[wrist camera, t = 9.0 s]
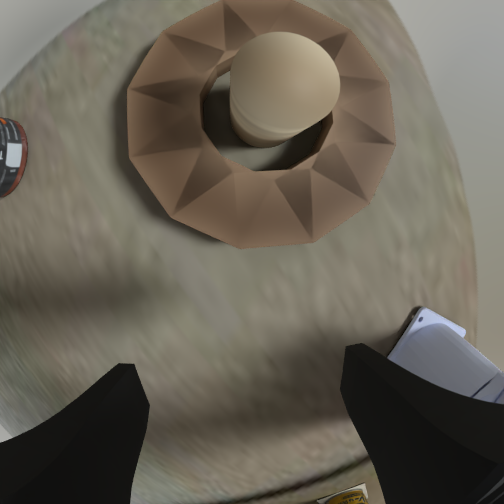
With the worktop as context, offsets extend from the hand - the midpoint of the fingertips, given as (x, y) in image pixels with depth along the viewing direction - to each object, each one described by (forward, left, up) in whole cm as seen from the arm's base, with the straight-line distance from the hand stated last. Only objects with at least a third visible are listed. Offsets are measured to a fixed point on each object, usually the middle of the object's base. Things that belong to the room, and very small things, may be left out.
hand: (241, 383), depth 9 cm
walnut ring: (+10, +3, -9) cm, 14 cm away
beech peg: (+10, +3, -9) cm, 14 cm away
